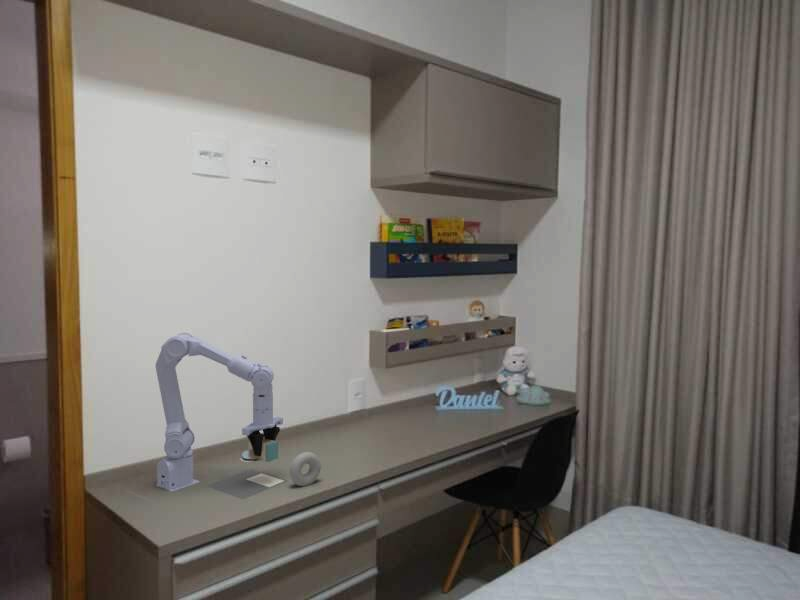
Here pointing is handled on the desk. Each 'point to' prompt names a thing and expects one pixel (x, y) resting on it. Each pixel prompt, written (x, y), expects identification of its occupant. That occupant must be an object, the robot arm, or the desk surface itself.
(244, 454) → the pacifier
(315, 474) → the donut
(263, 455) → the card box
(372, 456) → the desk surface
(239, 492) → the mat
